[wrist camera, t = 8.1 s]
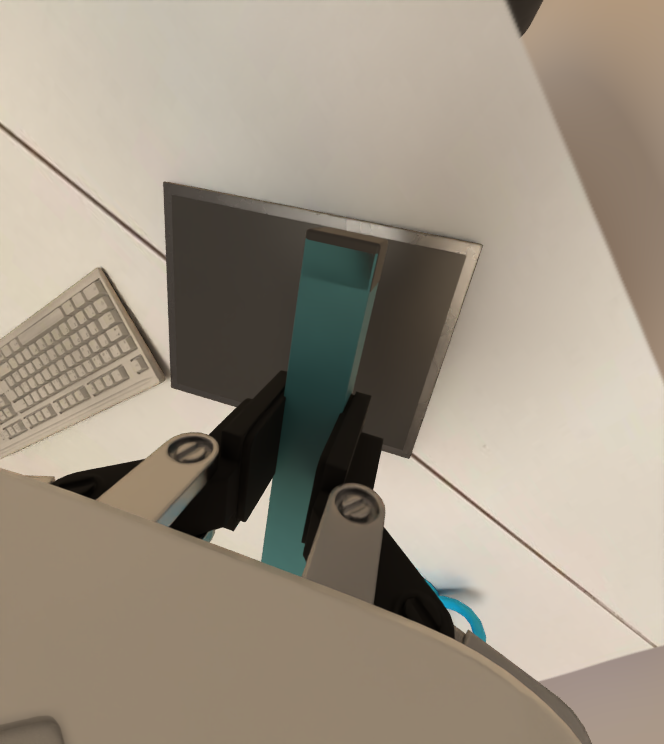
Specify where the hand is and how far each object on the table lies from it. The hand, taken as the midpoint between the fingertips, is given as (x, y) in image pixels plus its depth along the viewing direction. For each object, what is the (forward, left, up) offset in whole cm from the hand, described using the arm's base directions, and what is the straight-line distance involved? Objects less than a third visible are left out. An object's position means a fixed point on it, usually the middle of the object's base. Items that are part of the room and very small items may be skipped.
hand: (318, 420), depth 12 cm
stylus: (0, 0, 0) cm, 0 cm away
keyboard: (+14, -31, -14) cm, 37 cm away
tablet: (+2, -5, -14) cm, 15 cm away
